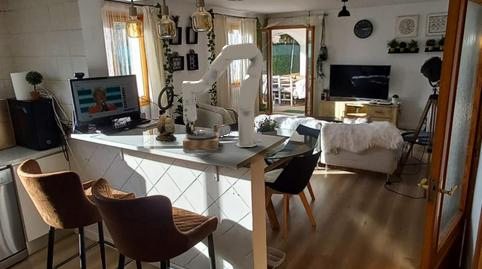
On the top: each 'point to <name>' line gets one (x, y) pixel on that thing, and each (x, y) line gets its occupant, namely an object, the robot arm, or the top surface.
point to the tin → (222, 129)
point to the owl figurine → (165, 129)
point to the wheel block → (200, 144)
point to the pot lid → (200, 134)
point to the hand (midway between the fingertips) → (190, 132)
